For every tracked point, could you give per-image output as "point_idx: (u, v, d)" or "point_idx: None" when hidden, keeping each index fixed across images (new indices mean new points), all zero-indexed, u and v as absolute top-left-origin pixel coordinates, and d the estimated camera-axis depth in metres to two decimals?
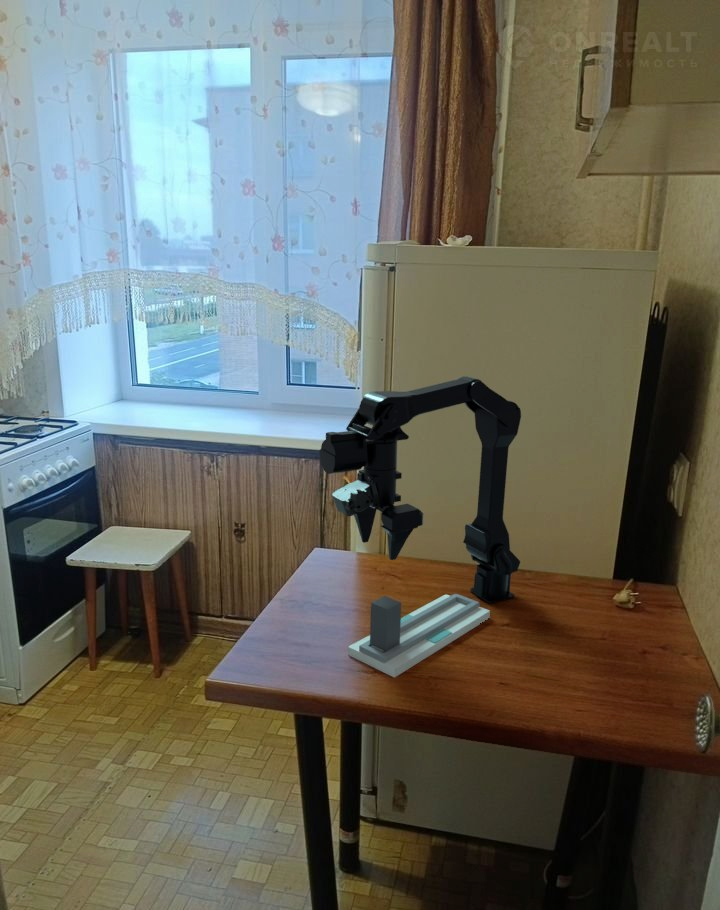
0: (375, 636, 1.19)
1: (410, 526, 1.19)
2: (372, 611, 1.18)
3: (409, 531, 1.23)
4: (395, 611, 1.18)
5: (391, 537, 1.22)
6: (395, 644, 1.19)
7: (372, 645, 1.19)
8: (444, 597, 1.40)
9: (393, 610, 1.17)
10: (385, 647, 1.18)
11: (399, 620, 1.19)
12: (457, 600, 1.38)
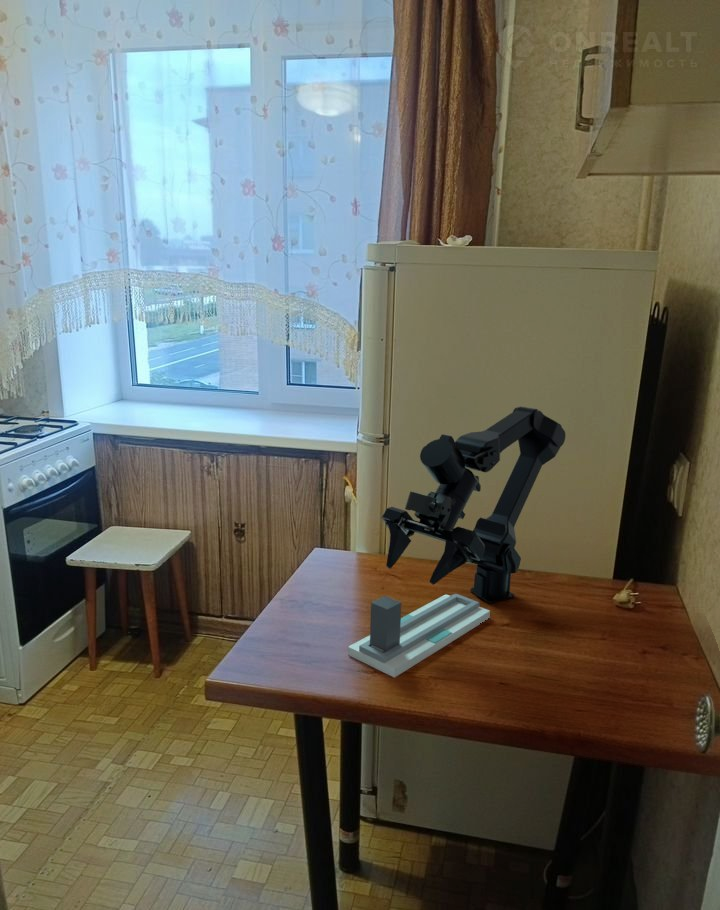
0: (375, 636, 1.19)
1: (476, 552, 1.18)
2: (372, 611, 1.18)
3: (459, 564, 1.21)
4: (395, 611, 1.18)
5: (449, 556, 1.19)
6: (395, 644, 1.19)
7: (372, 645, 1.19)
8: (444, 597, 1.40)
9: (393, 610, 1.17)
10: (385, 647, 1.18)
11: (399, 620, 1.19)
12: (457, 600, 1.38)
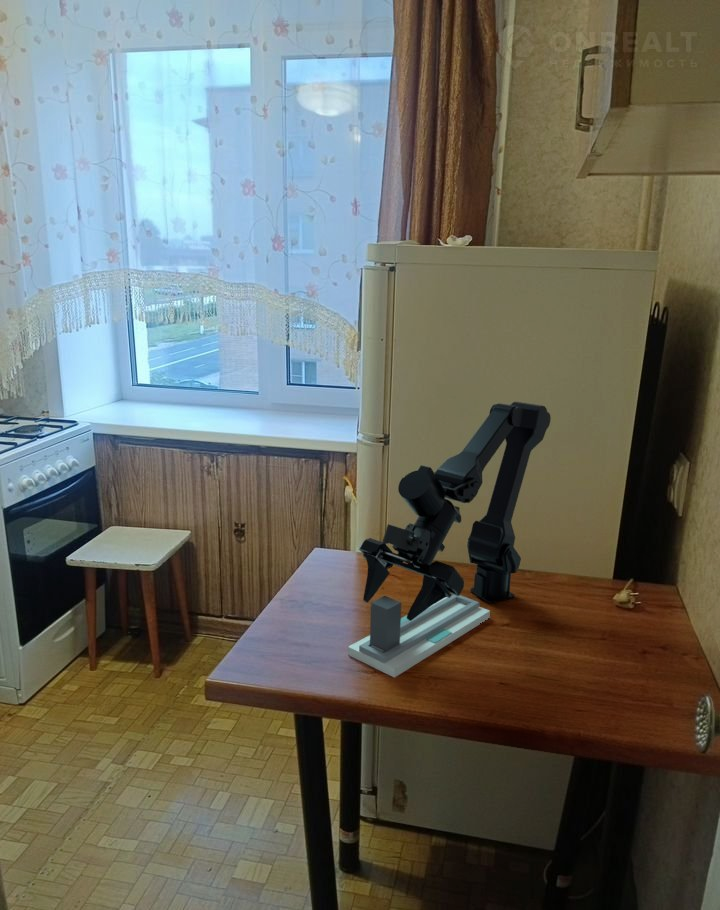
0: (375, 636, 1.19)
1: (454, 587, 1.15)
2: (372, 611, 1.18)
3: (438, 599, 1.18)
4: (395, 611, 1.18)
5: (426, 592, 1.15)
6: (395, 644, 1.19)
7: (372, 645, 1.19)
8: None
9: (393, 610, 1.17)
10: (385, 647, 1.18)
11: (399, 620, 1.19)
12: (457, 600, 1.38)
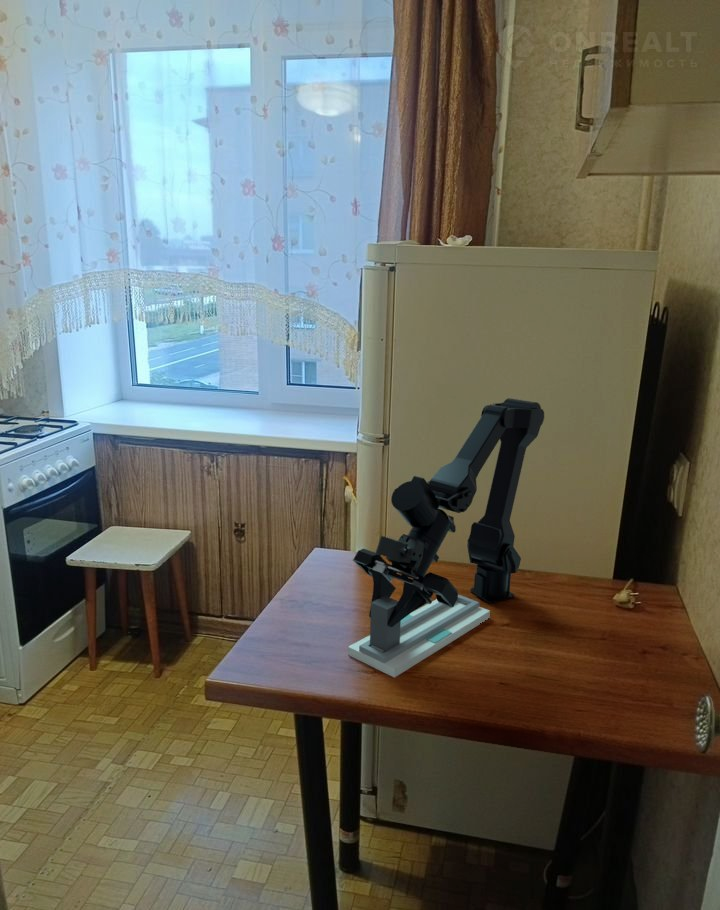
0: (375, 636, 1.19)
1: (448, 599, 1.15)
2: (372, 611, 1.18)
3: (418, 605, 1.19)
4: None
5: (407, 598, 1.16)
6: (395, 644, 1.19)
7: (372, 645, 1.19)
8: None
9: None
10: (385, 647, 1.18)
11: None
12: (457, 600, 1.38)
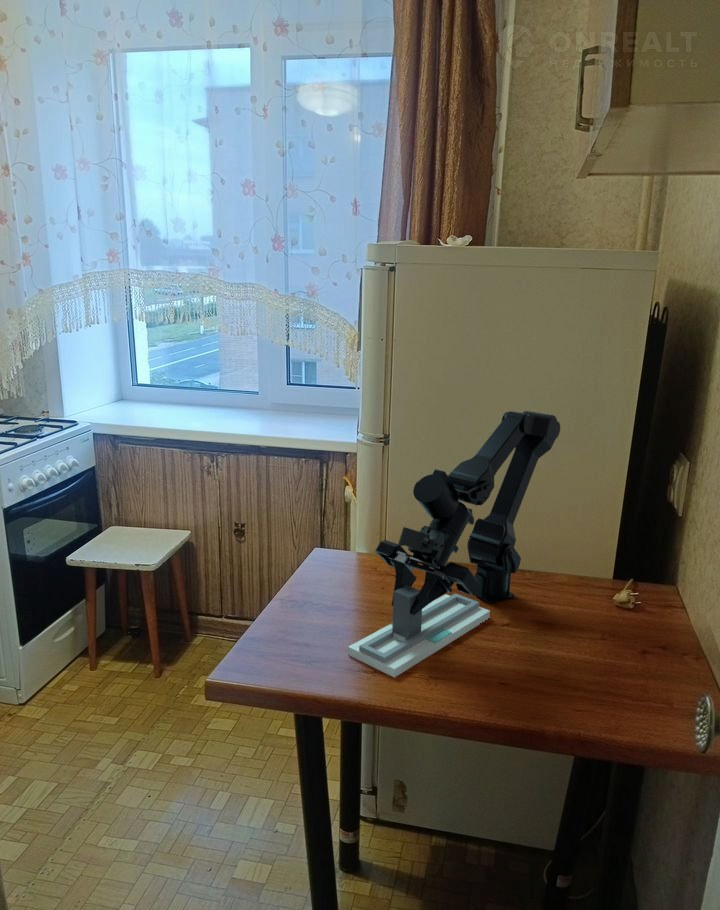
0: (397, 624, 1.23)
1: (469, 588, 1.19)
2: (395, 600, 1.22)
3: (439, 594, 1.23)
4: None
5: (429, 587, 1.21)
6: (417, 632, 1.24)
7: (394, 633, 1.24)
8: (444, 597, 1.40)
9: None
10: (407, 634, 1.22)
11: None
12: (457, 600, 1.38)
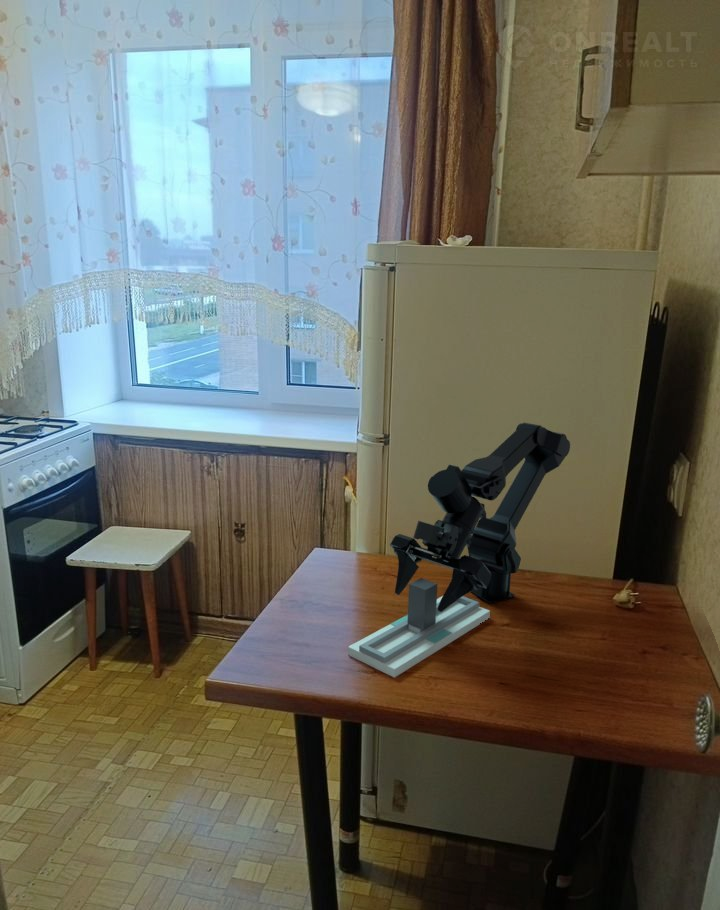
0: (413, 616, 1.26)
1: (482, 580, 1.22)
2: (410, 592, 1.25)
3: (466, 591, 1.24)
4: (432, 592, 1.25)
5: (456, 584, 1.22)
6: (431, 623, 1.27)
7: (410, 624, 1.27)
8: None
9: (430, 591, 1.24)
10: (422, 626, 1.25)
11: (435, 600, 1.26)
12: (457, 600, 1.38)
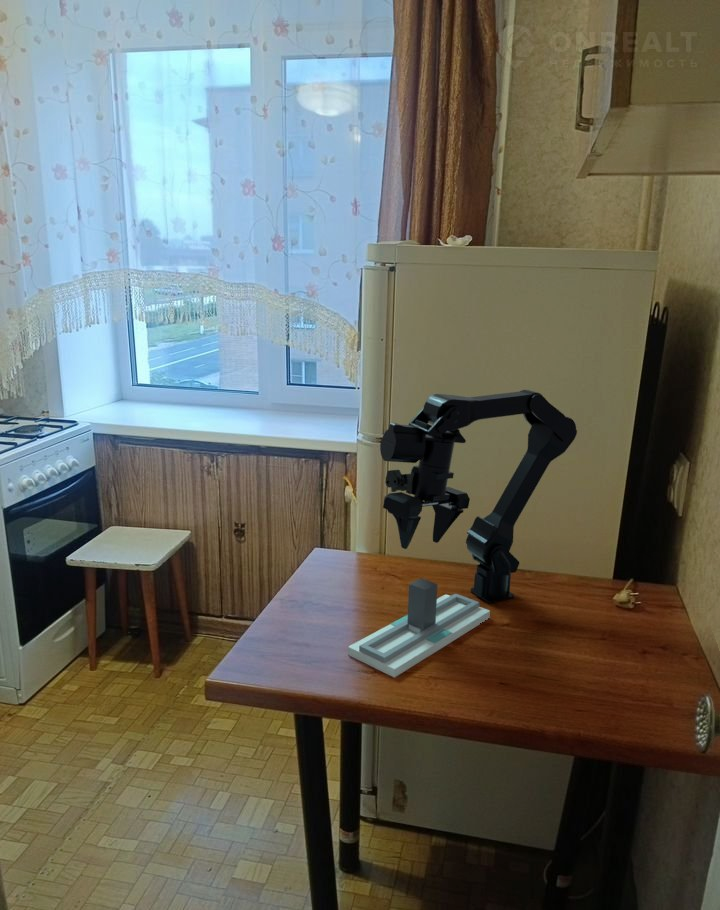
0: (413, 616, 1.26)
1: (394, 511, 1.27)
2: (410, 592, 1.25)
3: (410, 524, 1.28)
4: (432, 592, 1.25)
5: None
6: (431, 623, 1.27)
7: (410, 624, 1.27)
8: (444, 597, 1.40)
9: (430, 591, 1.24)
10: (422, 626, 1.25)
11: (435, 600, 1.26)
12: (457, 600, 1.38)
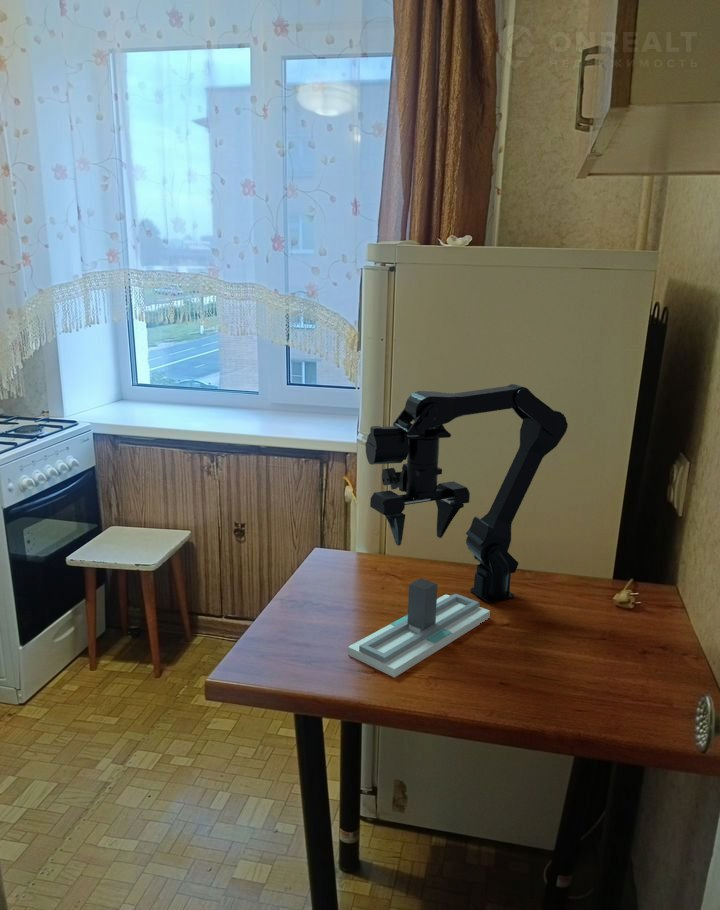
0: (413, 616, 1.26)
1: (377, 509, 1.31)
2: (410, 592, 1.25)
3: (396, 522, 1.31)
4: (432, 592, 1.25)
5: None
6: (431, 623, 1.27)
7: (410, 624, 1.27)
8: (444, 597, 1.40)
9: (430, 591, 1.24)
10: (422, 626, 1.25)
11: (435, 600, 1.26)
12: (457, 600, 1.38)
